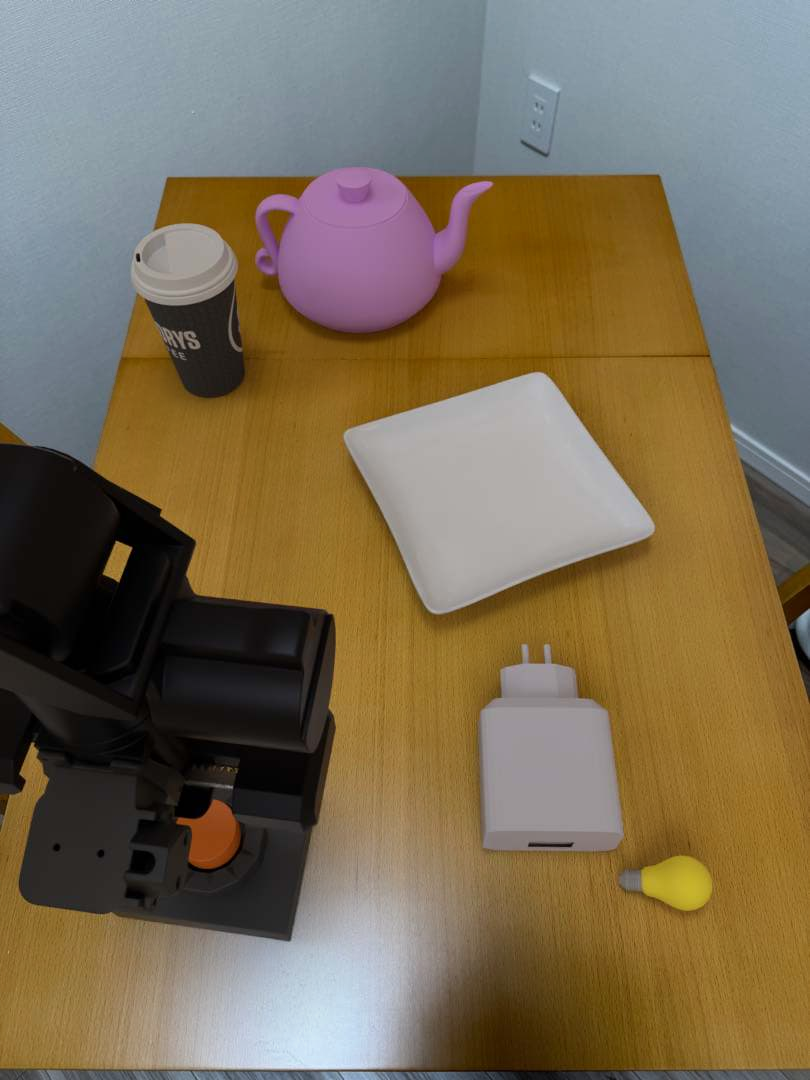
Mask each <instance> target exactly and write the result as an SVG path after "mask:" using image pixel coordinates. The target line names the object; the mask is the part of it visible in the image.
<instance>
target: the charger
mask: <svg viewBox="0 0 810 1080" xmlns="http://www.w3.org/2000/svg"><path fill="white" fill-rule="evenodd" d="M551 648H552V647H551V645H550V644H549V643H546V644H544V645H543V657H544V663H530V651H529V644H527V643H523V644H522V645H521V658H522V663H520V664H514V665H509V666H505V667H503V668H501V669H499V670H500V671H499V674H500V690H501V697H497V698H494V699H492V700H491V701H490V702H489V703H488V704H487V705H486V706H484V707H483V708H482V710H480V712H479V717H478V725H477V736H478V737H477V738H478V742H477V743H478V767H479V768H478V770H479V798H480V822H481V823H480V825H481V847H482V848H483V849H485V850H491V851H508V852H509V851H511V852H513V851H515V852H517V851H518V852H520V851H521V852H605V851H613V850H615V849H617V847H618V846H619V845H620V843H621V841H622V840H623V838H624V837H625V832H624V831H625V830H624V823H623V815H622V807H621V800H620V792H619V784H618V777H617V769H616V760H615V754H614V746H613V737H612V729H611V721H610V714H609V711H608V710H607V709H605V708H604V707H603V706H602V705H600V704H599V703H598V702H597V701H595V700H594V699H592V698H583V697H581V698H579V694H578V693H579V692H578V683H577V676H576V670H575V669H574V668H572V667H570V666H566V665H562V664H558V663H553V659H552V649H551Z"/></svg>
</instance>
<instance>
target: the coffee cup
mask: <svg viewBox="0 0 810 1080" xmlns="http://www.w3.org/2000/svg"><path fill="white" fill-rule="evenodd" d="M238 262H239V261H238V257H237V256H236V254H235V252H234V250H233V249H232V247H231V246H230V245H229V244H228V242H227V241H225V240H224V239H223V238H222V236H221V235H220V234H219V233H218V232H217V231H215V229H213V228H211V227H208V226H206V225H203V224H198V223H189V222H188V223H186V222H185V223H174V224H169V225H167V226H162V227H160V228H158V229H155V230H154V231H152V232H150V233H148V234H147V235H145V236H144V237H143V238H142V239H141V240H139V242H138V244H137V245H136V247H135V249H134V252H133V259H132V261H131V266H130V283H131V285H132V287H133V289H134V291H135V292H136V293H137V294H138V295H139V296H141V297H142V298H143V299H144V301H145V304H146V306H147V309H148V310H149V313H150V315H151V317H152V319H153V321H154V323H155V326H156V329H157V330H158V333H159V335H160V336H161V339H162V341H163V344H164V346H165V348H166V351H167V353H168V355H169V357H170V359H171V362H172V364H173V366H174V369H175V370H176V373H177V375H178V377H179V380H180V382H181V385H182V387H184V389H185V390H186V391H187V392H188V393H190V394H191V395H194V396H196V397H200V398H209V399H211V398H219V397H222V396H225V395H227V394H230V393H232V392H234V391H235V390H236V389H238V387H240V385H241V384H242V383H243V381H244V379H245V375H246V368H245V359H244V350H243V341H242V333H241V325H240V316H239V307H238V300H237V289H236V281H235V278H236V275H237V273H238V270H239V263H238Z"/></svg>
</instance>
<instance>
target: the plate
mask: <svg viewBox="0 0 810 1080" xmlns="http://www.w3.org/2000/svg"><path fill="white" fill-rule="evenodd" d="M342 439H343V442H344V444H345V446H346V448H347V450H348V453H349V454H350V457H351V458H352V460H353V462H354V463H355V465H356V467H357V469H358V470H359V472H360V474H361V476H362V478H363V479H364V482H365V483H366V485H367V486H368V488H369V490H370V492H371V494H372V496H373V498H374V500H375V502H376V503H377V506H378V507H379V510H380V512H381V513H382V516H383V518H384V520H385V522H386V524H387V526H388V528H389V530H390V532H391V535H392V537H393V540H394V541H395V544H396V546H397V547H398V550H399V553H400V555H401V558H402V560H403V563H404V564H405V565H404V566H405V568H406V570H407V572H408V575H409V577H410V579H411V582H412V584H413V586H414V588H415V591H416V593H417V595H418V596H419V599H420V600H421V602H422V604H423V605H424V607H425V609H426V610H427V611H428V612H429V613H430V614H433V615H437V616H438V615H445V614H448V613H452V612H454V611H458V610H460V609H463V608H465V607H467V606H471V605H473V604H476V603H477V602H480V601H482V600H484V599H486V598H489V597H491V596H493V595H496V594H498V593H500V592H503V591H505V590H507V589H510V588H512V587H514V586H517V585H519V584H522V583H523V582H527V581H529V580H531V579H535V578H536V577H539V576H542V575H544V574H546V573H549V572H552V571H554V570H558V569H560V568H564V567H566V566H569V565H572V564H575V563H578V562H580V561H584V560H587V559H589V558H593V557H595V556H599V555H602V554H606V553H608V552H609V553H610V552H612V551H615V550H618V549H622V548H625V547H628V546H631V545H633V544H636V543H638V542H641V541H644V540H646V539H649V538H650V537H652V536H653V535H654V533H655V532H656V525H655V522H654V520H653V519H652V517H651V516H650V514H649V513H648V511H647V509H646V507H644V505H643V504H642V503H641V501H640V500H639V498H638V497H637V496H636V495H635V493H634V492H633V490H632V489H631V488H630V486H629V485H628V484H627V482H626V481H625V480H624V479H623V477H622V476H621V474H620V473H619V472H618V470H617V469H616V468H615V466H614V465H613V463H612V462H611V461H610V460H609V458H608V457H607V455H606V454H605V453H604V451H603V450H602V449H601V447H600V446H599V444H598V443H597V442H596V441H595V439H594V437H593V436H592V434H591V433H590V432H589V430H588V429H587V428H586V427H585V425H584V423H583V421H581V419H580V417H579V416H578V415H577V413H576V412H575V411H574V409H573V407H572V406H571V404H570V403H569V402H568V400H567V399H566V397H565V396H564V394H563V393H562V391H561V390H560V389H559V387H558V386H557V385H556V383H555V382H554V381H553V380H552V378H551V377H549V376H548V375H547V374H546V373H544V372H542V371H534V372H530V373H526V374H523V375H520V376H516V377H513V378H510V379H506V380H503V381H500V382H497V383H493V384H491V385H488V386H484V387H482V388H477V389H475V390H472V391H469V392H465V393H462V394H459V395H455V396H452V397H449V398H445V399H442V400H439V401H436V402H433V403H429V404H426V405H423V406H419V407H416V408H413V409H409V410H406V411H403V412H400V413H396V414H392V415H389V416H386V417H383V418H379V419H377V420H372V421H370V422H366V423H363V424H359V425H357V426H354V427H351V428H347V430H345V431H344V432H343V435H342Z"/></svg>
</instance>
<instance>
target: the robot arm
mask: <svg viewBox="0 0 810 1080" xmlns="http://www.w3.org/2000/svg"><path fill="white" fill-rule="evenodd" d="M162 511H163V509H162V508H161V507H158V506H157V505H155V504H153V503H152V502H150V501H147V500H146V499H143V498H142V497H140V496H138V495H137V494H134V493H133V492H131V491H129V490H127V489H126V488H124V487H122V486H120V485H118V484H116V483H114V482H112V481H110V480H109V479H107V478H106V477H104V476H102V475H101V474H100V473H98V472H97V471H96V470H94V469H93V468H91V467H89V466H88V465H87V464H85V463H84V462H82V461H80V460H79V459H77V458H75V457H73V456H71V455H70V454H68V453H66V452H62V451H60V450H57V449H54V448H52V447H47V446H43V445H41V446H39V445H30V444H24V443H23V444H22V443H14V442H12V443H11V442H0V794H3V795H8V796H9V795H10V796H15V795H17V794H20V793H23V790H24V788H25V785H26V782H27V780H26V778H25V777H23V776H22V775H21V774H20V773H21V770H22V768H23V766H24V763H25V761H26V758H27V756H28V753H29V751H30V749H31V746H32V744H33V743H34V744H33V747H34V749H36V751H37V754H36V757H35V758H36V759H37V760H38V761H39V762H40V763H41V766H42V772H43V775H44V776H45V777H47V779H48V781H47V783H46V786H45V789H44V793H42V795H41V796H40V797H39V798H38V800H37V801H36V803H35V805H34V808H33V811H32V816H31V821H30V825H29V830H28V834H27V839H26V843H25V848H24V852H23V856H22V862H21V867H20V871H19V875H18V885H17V887H18V890H19V893H20V896H21V897H22V898H23V899H24V901H26V902H27V903H29V904H31V905H34V906H39V907H45V908H53V909H61V910H66V911H75V912H80V913H87V914H95V915H106V914H111V913H112V912H113V911H115V910H118V909H127V910H134V911H140V912H148V913H154V912H155V910H156V908H157V905H158V901H159V897H160V896H166V897H171V896H174V895H176V894H178V893H179V892H180V891H181V889H182V887H183V884H184V881H185V877H186V871H187V865H188V859H189V853H190V848H191V842H192V829H191V827H190V826H188V825H181V824H177V823H176V822H175V821H174V817H179V818H187V819H199V818H201V817H203V816H204V815H205V814H206V813H207V811H208V810H209V808H210V806H211V804H212V801H213V797H214V794H215V790H216V787H217V788H225V789H233V794H232V815H233V817H234V818H235V820H237V821H240V822H242V823H245V824H248V825H250V826H253V827H259V828H267V829H275V830H282V831H290V832H297V833H306V832H307V831H308V830H310V829H311V828H312V829H313V828H314V827H315V826H317V825H319V819H320V814H321V809H322V804H323V797H324V793H325V787H326V782H327V777H328V772H329V767H330V762H331V757H332V756H331V755H332V751H333V745H334V742H335V741H334V740H335V735H336V730H337V725H336V720H335V716H334V713H333V712H332V711H331V709H330V708H329V706H330V702H331V695H332V690H333V683H334V682H333V681H334V675H335V665H336V663H335V662H336V648H337V647H336V646H337V642H336V641H337V633H336V631H337V630H336V621H335V620H336V619H335V615H334V613H329V612H328V610H327V609H326V608H325V609H324V608H315V607H305V606H297V605H288V604H281V603H280V604H279V603H271V602H262V601H253V600H244V599H235V598H227V597H219V596H218V597H217V596H209V595H202V594H201V595H200V594H197V593H196V592H195V591H194V589H193V588H192V586H191V584H190V581H189V579H188V575H187V573H188V570H189V567H190V564H191V561H192V558H193V555H194V552H195V549H196V546H197V541H196V540H195V538H194V537H192V536H190V535H189V534H188V533H186V532H185V531H184V530H182V529H181V528H179V527H177V526H175V524H173V523H171V522H170V521H169V520H167V519H165V518H164V517H163V516H162V515H161V514H162ZM117 542H118V543H121V544H123V545H124V546H128V547H130V548H131V550H130V551H129V552H130V553H129V555H128V557H127V559H126V563H125V565H124V567H123V570H122V573H121V576H120V578H119V581H117V579H115V578H113V577H110V576H108V575H105V574H104V572H105V570H106V567H107V566H108V562H109V560H110V557H111V555H112V553H113V551H114V547H115V545H116V543H117ZM229 768H230V770H229ZM236 769H237V770H236Z"/></svg>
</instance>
